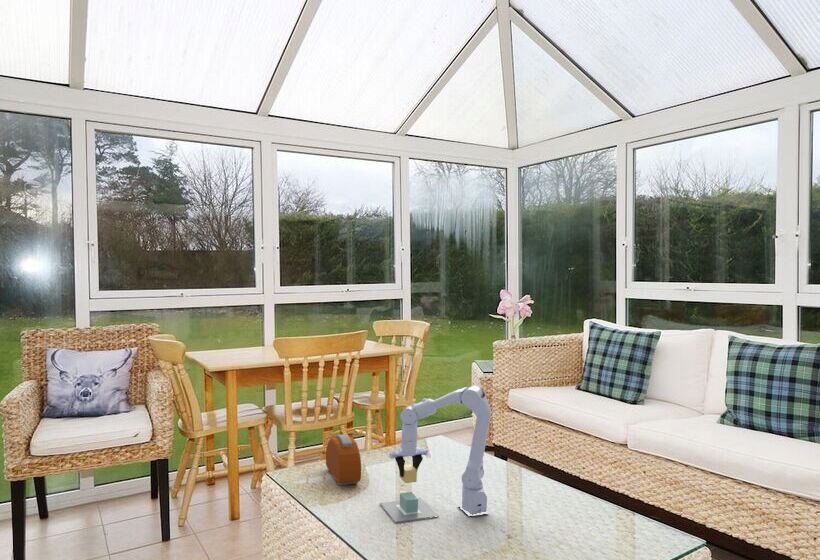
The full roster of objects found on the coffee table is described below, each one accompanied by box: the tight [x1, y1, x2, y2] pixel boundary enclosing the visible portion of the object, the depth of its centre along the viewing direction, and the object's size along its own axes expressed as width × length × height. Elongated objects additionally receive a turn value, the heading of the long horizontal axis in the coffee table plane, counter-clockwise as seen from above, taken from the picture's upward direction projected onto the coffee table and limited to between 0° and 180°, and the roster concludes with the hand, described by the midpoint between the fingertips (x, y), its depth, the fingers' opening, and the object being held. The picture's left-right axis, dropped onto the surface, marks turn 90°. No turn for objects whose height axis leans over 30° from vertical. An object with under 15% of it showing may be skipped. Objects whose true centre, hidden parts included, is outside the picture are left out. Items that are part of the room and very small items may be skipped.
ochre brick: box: [398, 463, 418, 484], centre depth 212 cm, size 6×4×4 cm
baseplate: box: [379, 497, 439, 524], centre depth 202 cm, size 16×16×1 cm
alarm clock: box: [325, 434, 362, 486], centre depth 232 cm, size 23×9×17 cm, turn 22°
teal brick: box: [399, 491, 419, 513], centre depth 202 cm, size 6×4×4 cm
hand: (408, 475), depth 212 cm, fingers closed on ochre brick, 4 cm apart
